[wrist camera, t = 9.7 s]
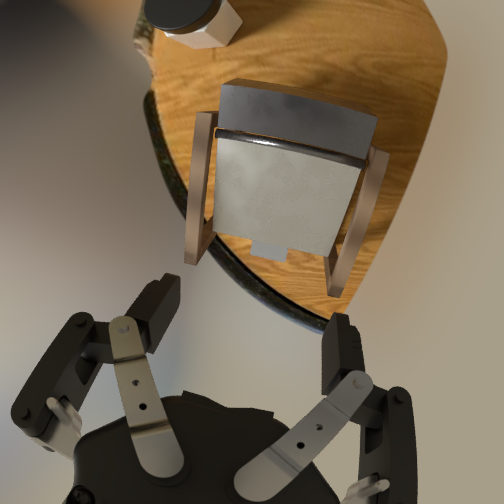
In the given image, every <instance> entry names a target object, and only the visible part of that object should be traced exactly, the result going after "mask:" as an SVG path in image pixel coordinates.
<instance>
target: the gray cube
mask: <svg viewBox="0 0 504 504" xmlns="http://www.w3.org/2000/svg"><path fill="white" fill-rule="evenodd" d="M287 252H288V248H286V247H282V246H277V245H273V244H269V243H264V242H260V241H255V240H253V241H252V247H251V252H250V255H254V256H259V257H263V258H267V259H272V260H276V261H280V262H285V260H286V256H287Z"/></svg>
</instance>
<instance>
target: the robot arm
mask: <svg viewBox="0 0 504 504" xmlns="http://www.w3.org/2000/svg"><path fill="white" fill-rule="evenodd" d="M179 304H180V276H177V275H173V274H169V273H165V274H164V276H163V277H162V279H161V280H160V281H158V280H153V281H152V282H150V283H148V284H147V285H146V287H145V288H144V289H143V291H142V292H141V293H140V295H139V296H138V298H136V300H135V301H134V303H133V304H132V305H131V307H130V308H129V309H128V311H127V313H126V314H125V315H124V316H119V317H116V318H114V319H113V320H112V321H111V322H97V321H94V319H93V317H92V316H91V314H89V313H86V312H79V313H76V314H74V315H72V316H71V317H70V318H69V320H68V321H67V323H66V324H65V325H64V327H63V328H62V329H61V331H60V332H59V333H58V335H57V336H56V338H55V339H54V341H53V342H52V343H51V345H50V346H49V348H48V349H47V351H46V352H45V354H44V355H43V356H42V358H41V360H40V361H39V362H38V364H37V366H36V367H35V369H34V370H33V372H32V373H31V375H30V377H29V378H28V380H27V381H26V383H25V385H24V386H23V388H22V390H21V391H20V393H19V395H18V397H17V398H16V400H15V402H14V403H13V405H12V408H11V417H12V420H13V422H14V423H15V424H16V425H17V426H18V427H19V428H20V429H21V430H22V431H23V432H24V433H25V434H26V435H27V436H28V437H30V438H31V439H32V440H33V441H34V442H36V443H37V444H39V445H41V446H42V447H43V448H45V449H46V450H48V451H51V452H55V451H56V452H58V453H60V454H61V455H63V456H65V457H66V458H68V459H70V460H72V461H73V462H74V483H73V487H72V489H71V491H70V493H69V495H68V496H67V497H66V499H65V500H64V502H63V503H62V504H417V495H418V491H417V489H418V477H417V450H416V436H415V426H414V416H413V407H412V400H411V396H410V394H409V393H408V392H407V390H405V389H404V388H402V387H398V386H397V387H392V388H391V389H390V390H389V391H387V390H385V389H382V388H380V387H377V386H375V385H374V384H373V381H372V379H371V378H370V376H369V375H368V374H366V373H365V365H364V358H363V351H362V344H361V338H360V333H359V332H358V330H357V328H356V327H355V326H352V325H350V322H349V316H348V315H346V314H341V313H336V312H334V313H333V314H332V316H331V319H330V321H329V323H328V325H327V327H326V329H325V331H324V334H323V337H322V395H327V397H326V398H324V399H323V400H321V402H319V403H318V404H317V405H316V406H315V407H314V408H313V409H312V410H311V411H310V412H309V413H308V414H307V415H306V416H305V417H304V418H303V419H302V420H300V421H299V422H298V423H297V424H296V425H295V426H294V427H293V428H291V429H289V428H288V427H287V426H286V425H285V424H283V423H282V422H280V421H278V420H277V419H274V418H273V415H274V412H271V411H265V410H260V409H255V408H227V407H224V406H222V405H220V404H219V403H217V402H215V401H213V400H211V399H209V398H207V397H205V396H201V395H198V394H194V393H191V392H188V391H183V393H182V396H167V397H163V398H160V397H159V394H158V391H157V388H156V385H155V382H154V379H153V376H152V373H151V370H150V366H149V363H148V360H147V357H146V355H145V354H146V352H148V353H151V354H154V352H155V350H156V348H157V347H158V345H159V343H160V341H161V339H162V337H163V335H164V333H165V332H166V330H167V328H168V326H169V324H170V322H171V321H172V319H173V317H174V315H175V313H176V312H177V309H178V307H179ZM103 363H107V364H114V369H115V374H116V378H117V382H118V387H119V391H120V395H121V399H122V403H123V407H124V411H125V414H126V416H124V417H121V418H119V419H117V420H115V421H113V422H111V423H109V424H107V425H105V426H102V427H100V428H98V429H96V430H93V431H91V432H89V433H87V434H85V435H84V436H83V437H81V434H80V431H81V427H82V420H81V417H80V415H79V414H78V411H79V409H80V407H81V405H82V403H83V401H84V399H85V397H86V395H87V393H88V391H89V389H90V387H91V385H92V383H93V382H94V380H95V378H96V376H97V374H98V372H99V370H100V368H101V366H102V365H103ZM348 421H351V422H354V423H356V424H359V425H361V432H360V433H361V434H360V457H359V474H358V481H357V482H355V483H353V484H352V485H351V486H350V487H349V488H348V490H347V493H346V496H345V498H344V500H343V501H342V502H340V501H339V499H338V497H337V495H336V494H335V492H334V491H333V490H332V488H331V487H330V485H329V484H328V483H327V482H326V480H325V478H324V477H323V476H322V474H321V473H320V471H319V470H318V469H317V467H316V466H315V464H314V463H313V461H312V460H313V459H314V458H315V457H316V456H317V455H318V454H319V453H320V452H321V451H322V450H323V449H324V448H325V447H326V446H327V445H328V444H329V443H330V441H331V440H332V439H333V438H334V437H335V436H336V435H337V434H338V433H339V431H340V430H341V429H342V428H343V427H344V426H345V424H346V423H347V422H348Z"/></svg>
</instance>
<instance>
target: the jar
mask: <svg viewBox="0 0 504 504" xmlns="http://www.w3.org/2000/svg"><path fill="white" fill-rule="evenodd" d="M144 12H145V17H146V19H147V21H148V22H149V23H150V24H151V25H152V26H154V27H155V28H157V29H160V30H162V31H164V33H165V35H166V36H167V37H169V38H171V39H174V40H176V41H178V42H181V43H183V44H185V45H187V46H189V47H191V48H194V49H202V48H213V47H226V46H227V44H228V43H229V41H230V40H231V39H232V37H233V36H234V34H235V33H236V31H237V30H238V29H239V27H240V26H241V24H242V23H243V21H242V20H241V18H240V17H239V15H238V14H237V13H236V11H235V10H234V8H233V7H232V6H231V4H230V3H229V2H228V0H146V2H145V7H144Z"/></svg>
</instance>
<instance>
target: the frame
mask: <svg viewBox="0 0 504 504" xmlns="http://www.w3.org/2000/svg"><path fill="white" fill-rule="evenodd" d="M218 118H219V111H205V112H197V115H196V122H195V130H194V139H193V148H192V157H191V167H190V178H189V190H188V203H187V217H186V235H185V256H184V257H185V258H184V263H187V264H191V265H195V266H196V265H197V264H198V262H199V260H200V259H201V257H202V256H203V254H204V253H205V251H206V249H207V248H208V246H209V245H210V243H211V241H212V240H213V238H214V237H215V235H216V234H217V232H214V231H213V215H212V217H211V218H210V219H209V220H208V222H207V223H206V224H205V226H204V227H203V221H204V210H205V200H206V191H207V182H208V173H209V164H210V156H211V148H212V141H213V133H214V128H215V127H218ZM225 130H231V131H237V130H232V129H225ZM347 156H351V155H348V154H347ZM351 157H354V158H358V157H355V156H351ZM389 157H390V154H389V153H387V152H386V151H384V150H382V149H380V148H378V147H376V146H375V145H373V144H371V143H370V146H369V149H368V152H367V156H366V160H368V165H367V169H366V172H365V176H364V179H363V183H362V186H361V190H360V193H359V196H358V200H357V203H356V206H355V209H354V212H353V216H352V219H351V222H350V225H349V228H348V231H347V234H346V237H345V240H344V242H343V245H342V248H341V251H340V254H339V257H338V254H337V250H336V245H335V241H334V243H333V246H332V248H331V251H330V253H329V256H328V257H325V256H324V265H325V275H326V285H327V296H331V297H336V298H340V296H341V294H342V291H343V289H344V287H345V284H346V282H347V279H348V277H349V274H350V272H351V270H352V267H353V265H354V262H355V259H356V257H357V254H358V252H359V249H360V246H361V244H362V241H363V238H364V236H365V233H366V230H367V227H368V224H369V222H370V219H371V216H372V213H373V210H374V207H375V204H376V201H377V198H378V195H379V191H380V188H381V185H382V182H383V178H384V175H385V172H386V168H387V165H388V161H389ZM358 159H359V158H358ZM335 239H336V238H335Z"/></svg>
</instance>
